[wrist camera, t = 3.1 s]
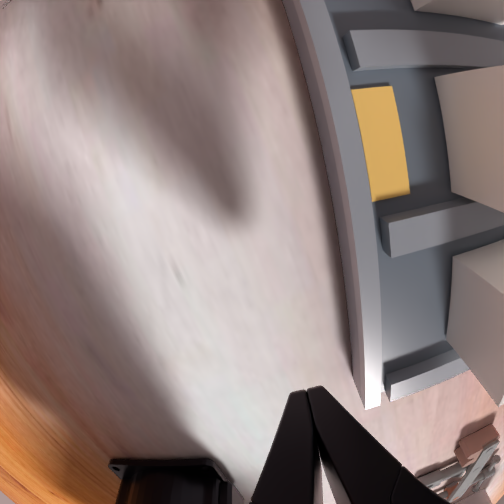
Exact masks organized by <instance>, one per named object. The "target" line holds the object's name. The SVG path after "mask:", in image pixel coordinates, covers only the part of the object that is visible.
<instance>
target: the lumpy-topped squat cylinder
mask: <svg viewBox="0 0 504 504" xmlns="http://www.w3.org/2000/svg"><path fill="white" fill-rule="evenodd" d="M454 504H492V503H491V501H490V499H489V496H488V494H487V492H486V490H485V489H482V490H480V491H478V492H476V493H474V494H472V495H470V496H468V497H467V498H465V499H463V500H461V501H459V502H457V503H454Z"/></svg>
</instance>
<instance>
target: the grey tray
mask: <svg viewBox="0 0 504 504" xmlns="http://www.w3.org/2000/svg"><path fill="white" fill-rule="evenodd" d="M282 2H283V5H284V8H285V11H286V14H287V17H288V20H289V23H290V27H291V30H292V33H293V36H294V40H295V43H296V47H297V50H298V53H299V57H300V61H301V64H302V68H303V71H304V75H305V79H306V83H307V87H308V91H309V94H310V98H311V102H312V107H313V111H314V115H315V119H316V124H317V128H318V132H319V137H320V141H321V146H322V151H323V156H324V160H325V165H326V170H327V176H328V181H329V186H330V192H331V197H332V203H333V208H334V214H335V220H336V227H337V233H338V240H339V246H340V253H341V260H342V268H343V275H344V283H345V292H346V301H347V310H348V320H349V330H350V341H351V354H352V368H353V380H354V382H355V385H356V387H357V390H358V392H359V395H360V397H361V400H362V403H363V405H364V408H365V410H367V409H370V408H373V407H376V406H380V402H381V393H382V392H386V394H387V397H388V399H389V401H390V402H391V401H394V400H397V399H400V398H403V397H406V396H408V395H411V394H414V393H416V392H419V391H421V390H424V389H426V388H429V387H431V386H434V385H436V384H439V383H441V382H443V381H446V380H448V379H450V378H452V377H455V376H457V375H459V374H461V373H463V372H465V371H468V370H470V369H469V367H468V366H467V365H466V364H465V362H464V361H463V360H462V359H461V357H460V356H459V355H458V354H457V352H456V351H455V350H454V349H453V347H452V346H451V345H450V344H449V343H448V341H447V340H446V335H447V327H448V319H449V309H450V298H451V283H452V261H453V256H456V255H459V254H462V253H465V252H468V251H471V250H474V249H477V248H480V247H483V246H486V245H489V244H492V243H495V242H497V241H500V240H503V239H504V213H503V212H500V211H498V210H496V209H493V208H491V207H489V206H486V205H484V204H481V203H479V202H476V201H474V200H471V199H469V198H466V197H463V196H461V195H458V194H456V193H453V192H451V181H450V170H449V160H448V151H447V144H446V136H445V130H444V123H443V118H442V112H441V107H440V101H439V96H438V92H437V87H436V83H435V78H434V77H437V76H442V75H447V74H452V73H457V72H463V71H468V70H474V69H481V68H487V67H494V66H502V65H504V25H499V24H495V23H491V22H486V21H482V20H477V19H472V18H466V17H460V16H454V15H447V14H440V13H431V12H421V11H414V8H413V5H412V3H411V0H282Z"/></svg>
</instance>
